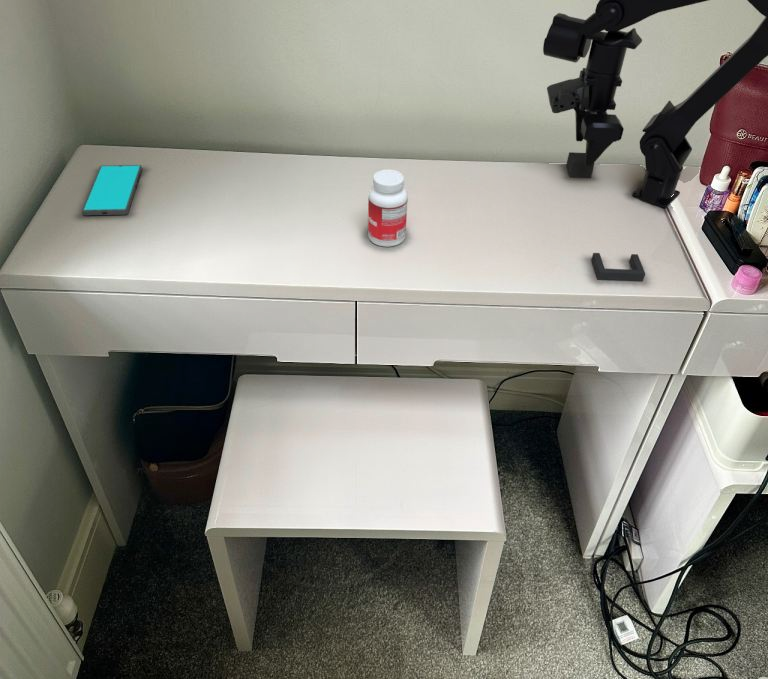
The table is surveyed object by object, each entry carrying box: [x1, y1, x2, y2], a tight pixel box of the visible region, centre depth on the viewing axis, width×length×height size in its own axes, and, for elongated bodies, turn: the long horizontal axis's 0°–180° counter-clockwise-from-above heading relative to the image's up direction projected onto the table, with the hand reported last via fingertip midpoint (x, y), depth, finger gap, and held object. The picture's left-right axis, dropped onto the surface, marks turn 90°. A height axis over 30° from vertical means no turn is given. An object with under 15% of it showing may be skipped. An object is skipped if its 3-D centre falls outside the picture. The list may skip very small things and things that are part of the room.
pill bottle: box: [367, 168, 409, 248], centre depth 111 cm, size 6×6×11 cm
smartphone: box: [81, 164, 143, 216], centre depth 122 cm, size 7×1×15 cm
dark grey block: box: [565, 151, 595, 179], centre depth 131 cm, size 4×4×3 cm
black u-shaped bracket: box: [590, 252, 646, 282], centre depth 109 cm, size 5×7×2 cm
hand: (583, 152), depth 129 cm, fingers open, 9 cm apart
